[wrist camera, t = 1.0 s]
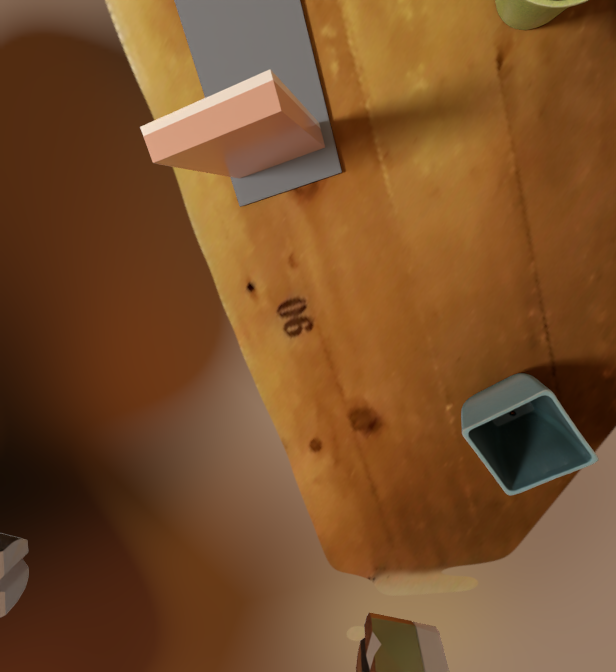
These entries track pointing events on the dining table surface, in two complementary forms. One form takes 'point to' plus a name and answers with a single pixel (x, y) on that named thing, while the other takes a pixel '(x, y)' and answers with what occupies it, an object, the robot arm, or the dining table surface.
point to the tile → (236, 130)
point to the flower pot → (523, 434)
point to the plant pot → (531, 11)
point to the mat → (252, 59)
